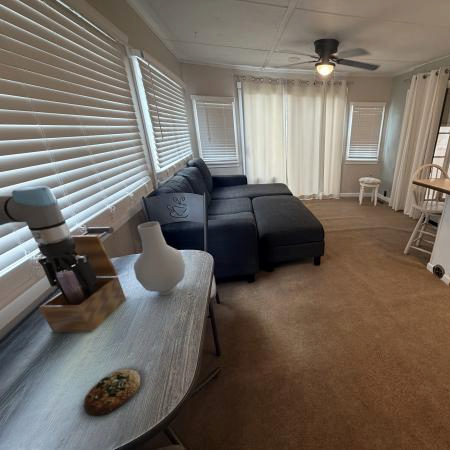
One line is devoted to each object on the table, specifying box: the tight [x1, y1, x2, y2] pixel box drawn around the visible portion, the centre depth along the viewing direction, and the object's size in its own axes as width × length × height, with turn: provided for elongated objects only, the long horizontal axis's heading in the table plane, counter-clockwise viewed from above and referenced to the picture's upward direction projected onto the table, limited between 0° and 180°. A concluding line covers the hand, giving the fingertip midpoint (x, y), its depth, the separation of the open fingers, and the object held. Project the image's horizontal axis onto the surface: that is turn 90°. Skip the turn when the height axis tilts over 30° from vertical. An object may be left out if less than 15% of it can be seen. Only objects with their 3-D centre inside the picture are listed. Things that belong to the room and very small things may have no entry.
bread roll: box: [83, 369, 141, 418], centre depth 57 cm, size 11×11×5 cm
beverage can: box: [56, 265, 87, 305], centre depth 77 cm, size 6×6×15 cm
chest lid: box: [71, 226, 119, 277], centre depth 85 cm, size 17×13×10 cm
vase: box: [133, 221, 186, 296], centre depth 90 cm, size 17×16×28 cm
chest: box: [38, 276, 127, 333], centre depth 80 cm, size 16×13×11 cm
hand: (83, 302), depth 79 cm, fingers closed on beverage can, 6 cm apart
